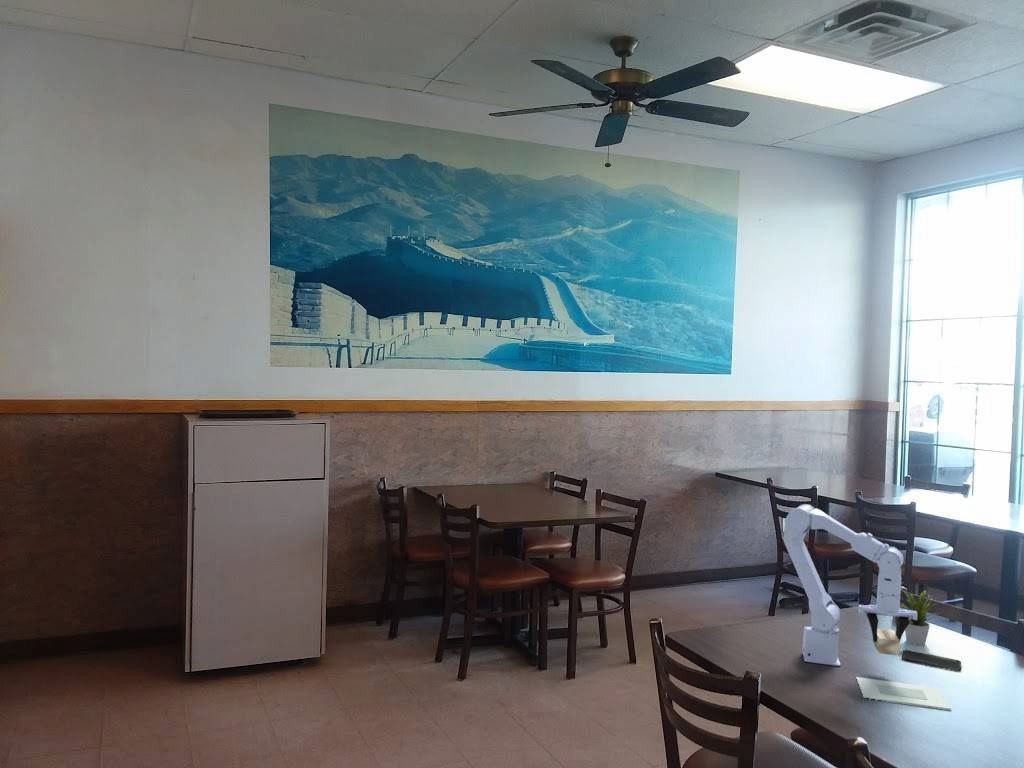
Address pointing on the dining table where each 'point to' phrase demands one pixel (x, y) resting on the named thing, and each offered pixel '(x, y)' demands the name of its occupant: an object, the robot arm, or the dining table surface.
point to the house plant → (919, 627)
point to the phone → (931, 660)
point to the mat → (902, 693)
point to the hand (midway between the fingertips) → (885, 642)
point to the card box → (887, 642)
